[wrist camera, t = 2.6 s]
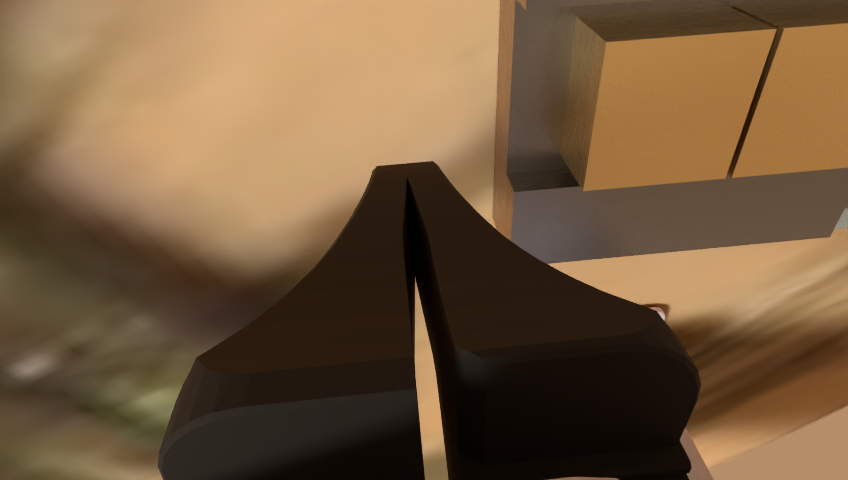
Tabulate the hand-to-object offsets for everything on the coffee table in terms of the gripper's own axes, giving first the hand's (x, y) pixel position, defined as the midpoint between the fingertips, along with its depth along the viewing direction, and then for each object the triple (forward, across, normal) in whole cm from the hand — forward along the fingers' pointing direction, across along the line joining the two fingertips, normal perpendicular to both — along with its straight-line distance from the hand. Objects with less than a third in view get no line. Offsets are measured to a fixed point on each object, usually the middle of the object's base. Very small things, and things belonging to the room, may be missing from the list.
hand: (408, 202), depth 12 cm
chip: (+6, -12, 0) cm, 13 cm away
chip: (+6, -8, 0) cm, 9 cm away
